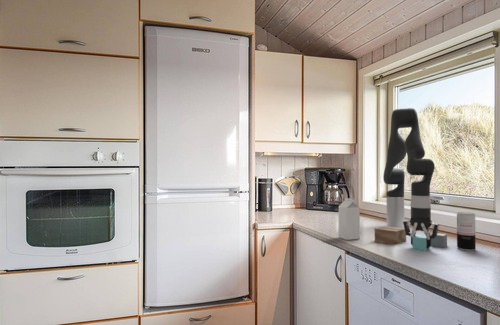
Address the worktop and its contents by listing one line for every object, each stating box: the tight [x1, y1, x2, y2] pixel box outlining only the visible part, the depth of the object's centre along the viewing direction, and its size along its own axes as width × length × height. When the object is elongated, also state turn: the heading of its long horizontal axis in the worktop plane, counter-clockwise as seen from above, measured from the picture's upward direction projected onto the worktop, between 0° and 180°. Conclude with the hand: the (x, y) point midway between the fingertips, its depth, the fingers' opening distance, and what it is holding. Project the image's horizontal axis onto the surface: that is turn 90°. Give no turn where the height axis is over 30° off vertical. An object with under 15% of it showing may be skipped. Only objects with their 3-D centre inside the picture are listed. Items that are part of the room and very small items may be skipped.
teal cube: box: [412, 234, 429, 252], centre depth 146 cm, size 5×5×5 cm
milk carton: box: [338, 197, 361, 241], centre depth 167 cm, size 7×7×19 cm
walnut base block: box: [374, 225, 407, 246], centre depth 161 cm, size 10×10×6 cm
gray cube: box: [430, 232, 448, 248], centre depth 151 cm, size 5×5×5 cm
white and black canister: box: [456, 211, 477, 252], centre depth 145 cm, size 7×6×15 cm
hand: (420, 246), depth 146 cm, fingers closed on teal cube, 5 cm apart
